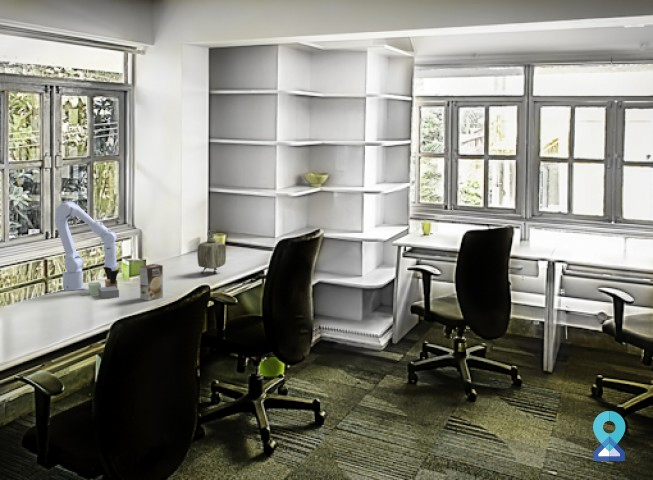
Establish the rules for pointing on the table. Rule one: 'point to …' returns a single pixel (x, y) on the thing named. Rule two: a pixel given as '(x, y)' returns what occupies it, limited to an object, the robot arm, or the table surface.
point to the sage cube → (94, 288)
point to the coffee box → (151, 282)
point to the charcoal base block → (108, 292)
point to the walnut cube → (108, 284)
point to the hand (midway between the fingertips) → (111, 282)
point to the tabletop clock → (211, 253)
